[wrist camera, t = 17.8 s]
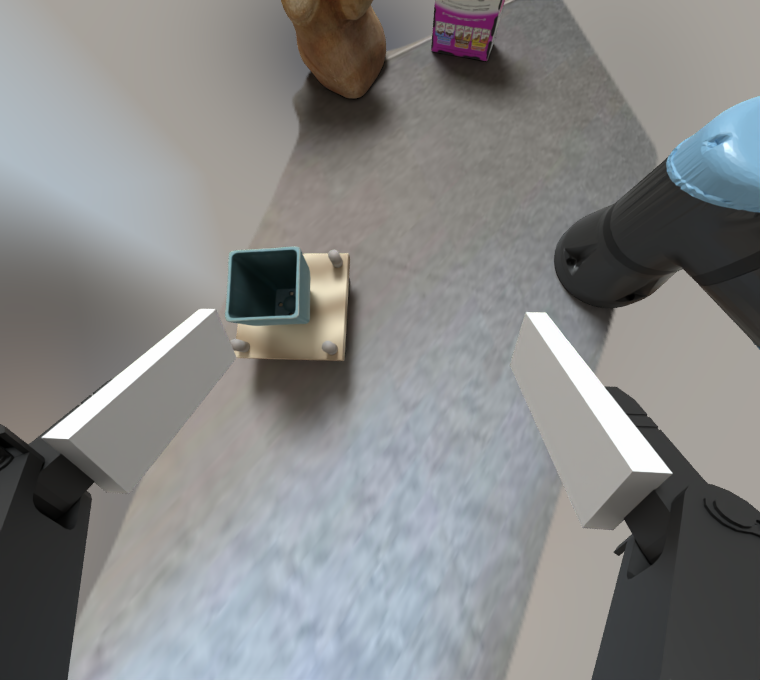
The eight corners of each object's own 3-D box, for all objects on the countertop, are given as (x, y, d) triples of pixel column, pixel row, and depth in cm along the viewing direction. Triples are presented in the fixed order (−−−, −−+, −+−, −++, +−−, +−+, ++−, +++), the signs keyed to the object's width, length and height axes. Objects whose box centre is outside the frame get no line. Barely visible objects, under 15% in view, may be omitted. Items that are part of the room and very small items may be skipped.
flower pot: (321, 333, 40) (298, 318, 32) (262, 335, 41) (223, 321, 32) (322, 275, 42) (300, 245, 33) (264, 278, 43) (228, 250, 34)
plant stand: (265, 270, 49) (236, 246, 41) (355, 269, 48) (344, 245, 40) (255, 360, 47) (223, 355, 38) (350, 363, 45) (338, 358, 37)
